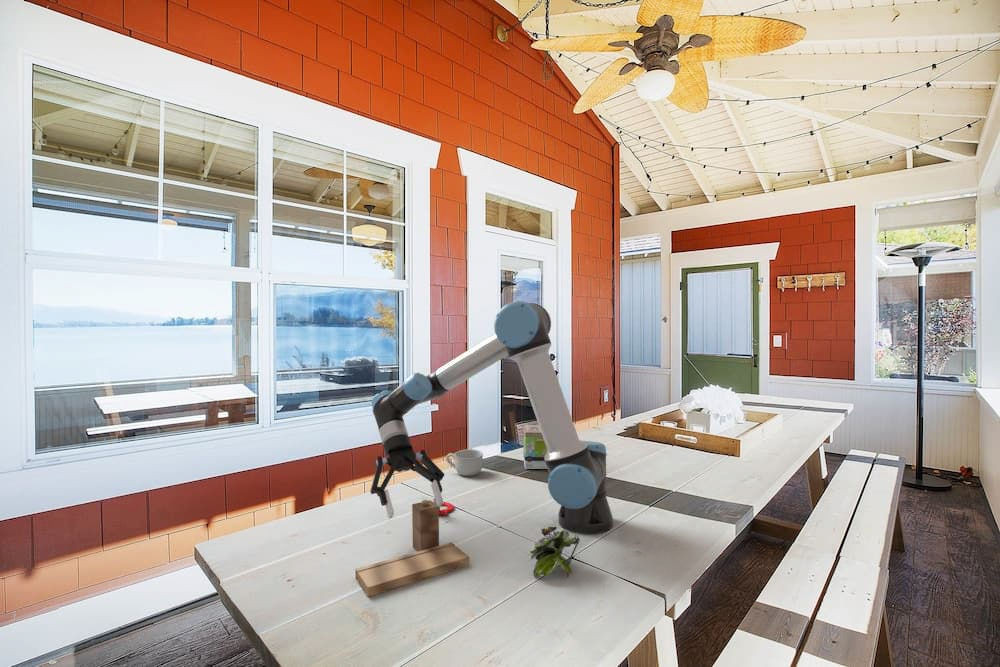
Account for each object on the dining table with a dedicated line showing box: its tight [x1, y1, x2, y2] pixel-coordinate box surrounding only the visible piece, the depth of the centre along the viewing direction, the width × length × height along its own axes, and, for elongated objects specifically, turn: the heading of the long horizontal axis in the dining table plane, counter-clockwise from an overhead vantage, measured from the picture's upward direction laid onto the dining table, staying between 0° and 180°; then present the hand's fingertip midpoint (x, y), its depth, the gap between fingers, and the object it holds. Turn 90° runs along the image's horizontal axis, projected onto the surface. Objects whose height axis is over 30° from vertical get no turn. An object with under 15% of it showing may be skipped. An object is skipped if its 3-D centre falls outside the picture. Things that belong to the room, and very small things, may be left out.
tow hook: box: [432, 495, 455, 516], centre depth 148 cm, size 8×13×9 cm
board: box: [354, 542, 470, 598], centre depth 111 cm, size 24×9×2 cm, turn 123°
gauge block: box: [411, 499, 440, 552], centre depth 122 cm, size 5×5×12 cm
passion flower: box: [528, 525, 581, 578], centre depth 110 cm, size 11×11×12 cm
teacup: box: [445, 448, 484, 477], centre depth 183 cm, size 14×11×8 cm
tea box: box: [523, 424, 547, 470], centre depth 194 cm, size 15×10×15 cm, turn 179°
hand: (417, 510), depth 125 cm, fingers open, 13 cm apart
